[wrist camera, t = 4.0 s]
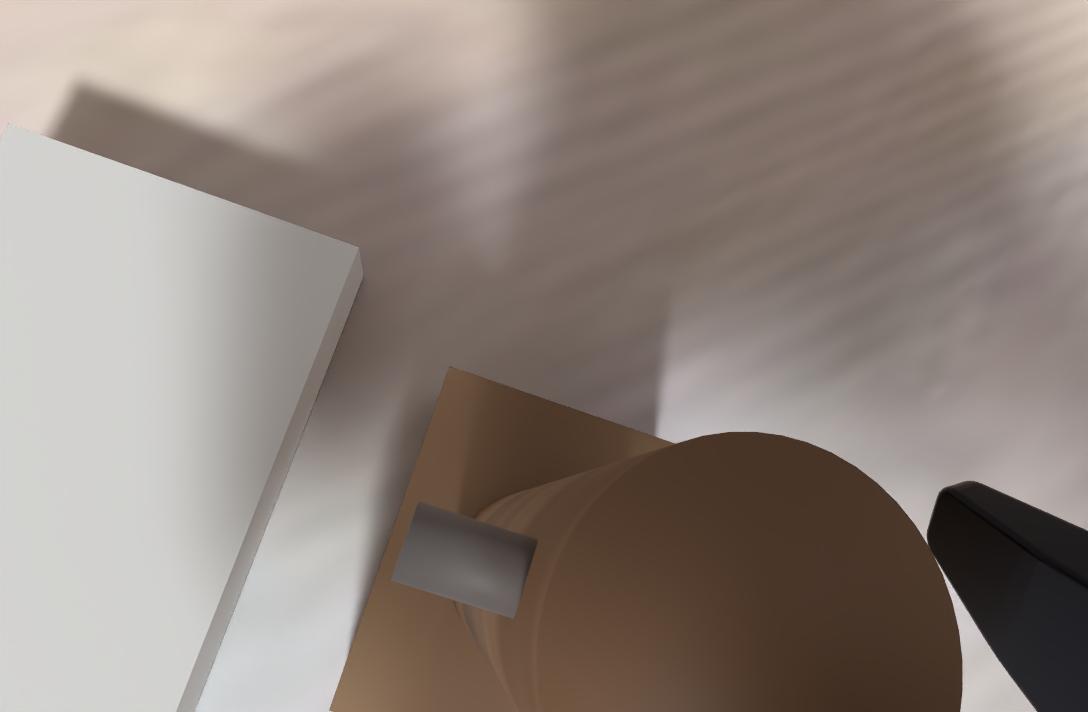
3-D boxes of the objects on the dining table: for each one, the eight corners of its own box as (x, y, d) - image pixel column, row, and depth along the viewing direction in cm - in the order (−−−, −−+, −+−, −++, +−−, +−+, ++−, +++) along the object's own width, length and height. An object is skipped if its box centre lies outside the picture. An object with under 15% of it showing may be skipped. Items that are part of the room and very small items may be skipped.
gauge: (717, 490, 19) (1345, 412, 6) (646, 765, 17) (1284, 1386, 5) (440, 396, 18) (524, 104, 6) (343, 673, 17) (167, 1109, 4)
